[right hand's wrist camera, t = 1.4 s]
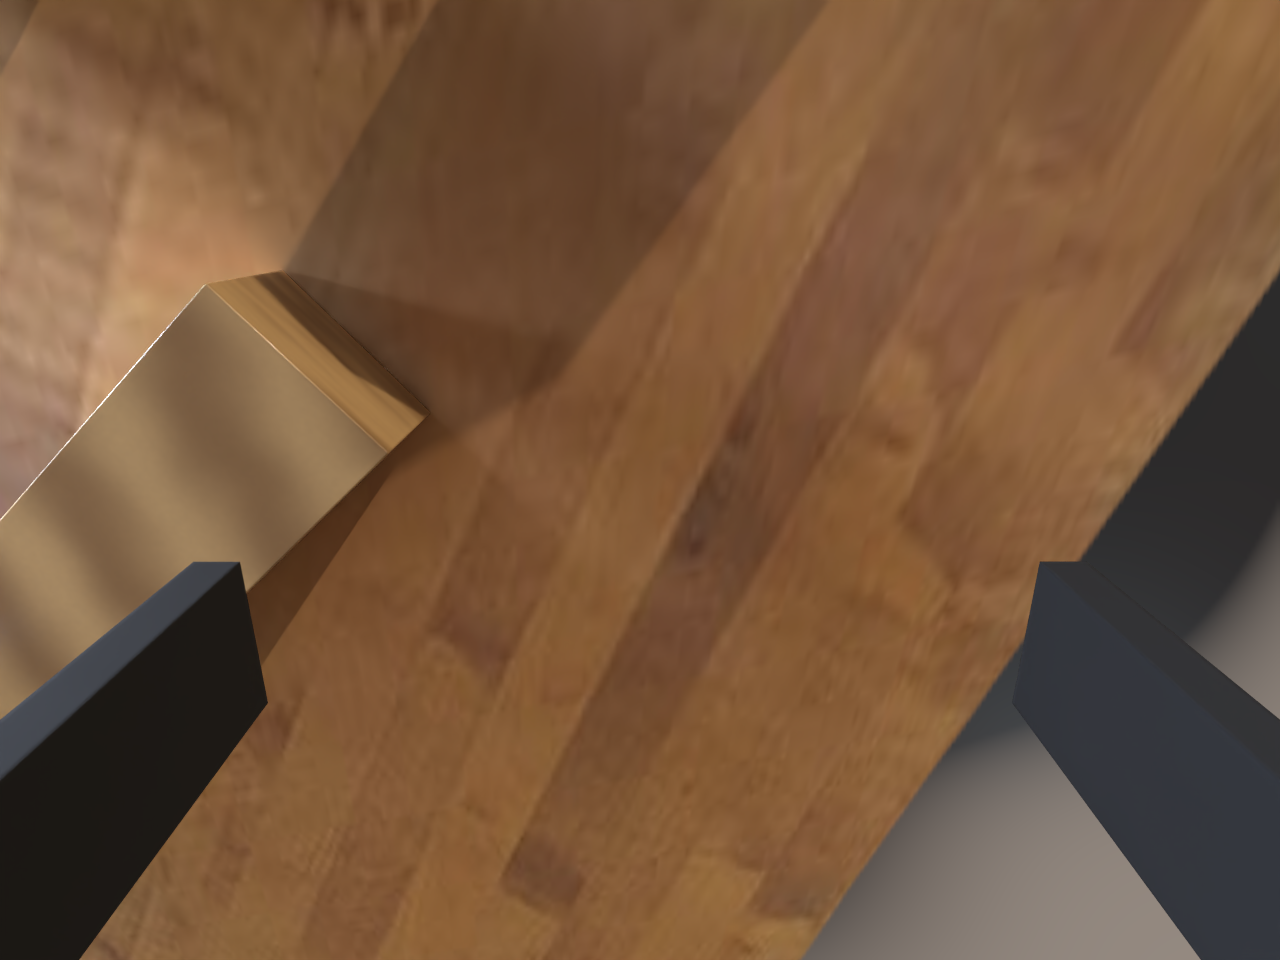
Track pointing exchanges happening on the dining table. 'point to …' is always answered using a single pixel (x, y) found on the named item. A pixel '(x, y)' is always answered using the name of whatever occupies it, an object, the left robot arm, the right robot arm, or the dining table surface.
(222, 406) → the long beam
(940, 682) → the dining table surface
